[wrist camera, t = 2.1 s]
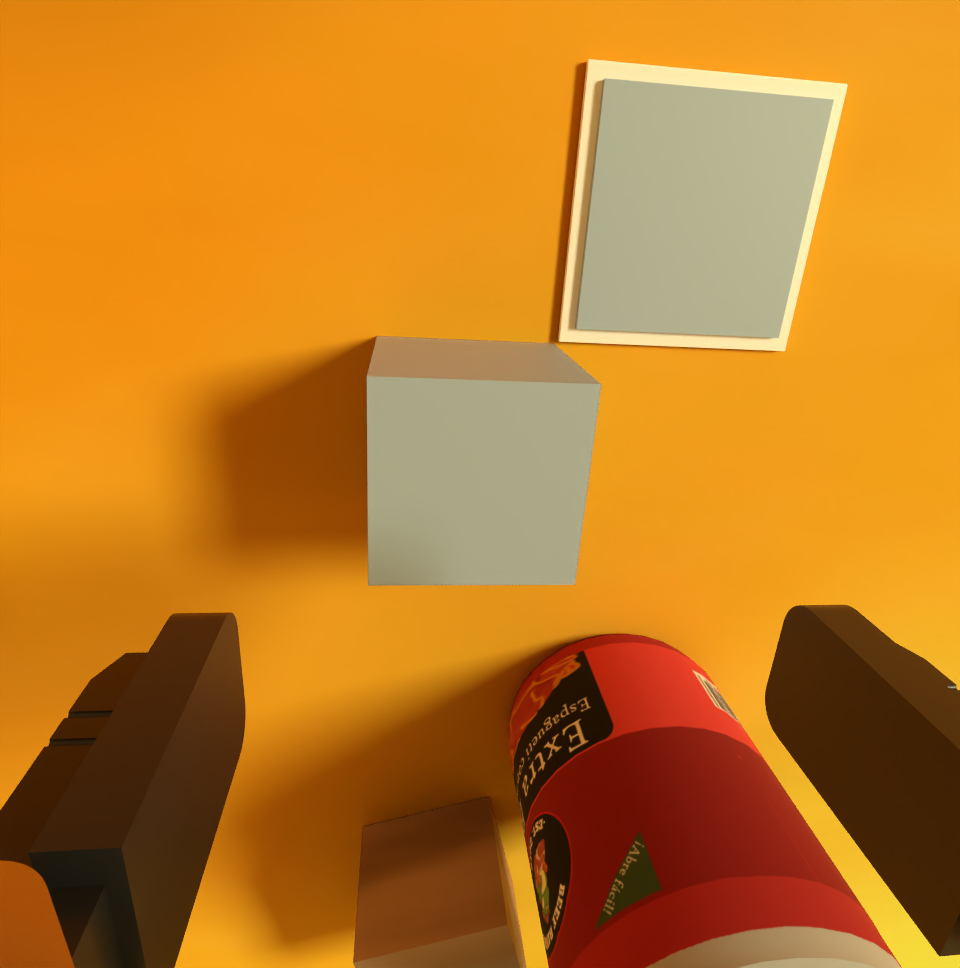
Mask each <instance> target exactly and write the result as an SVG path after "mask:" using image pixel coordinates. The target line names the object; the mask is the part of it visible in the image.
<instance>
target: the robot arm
mask: <svg viewBox="0 0 960 968" xmlns="http://www.w3.org/2000/svg"><path fill="white" fill-rule="evenodd" d="M765 705H766V711H767V716H768V719H769V722H770V725H771V727H772V729H773V731H774V732H775V734H776V735H777V737H778V738H779V740H780V741H781V742H782V744H783V745H784V746H785V748H786V749H787V750H788V752H789V753H790V754H791V756H792V757H793V759H794V760H795V761H796V763H797V764H798V765H799V767H800V768H801V769H802V771H803V772H804V773H805V775H806V776H807V778H808V779H809V780H810V782H811V783H812V784H813V786H814V787H815V788H816V790H817V791H818V792H819V794H820V795H821V797H822V798H823V799H824V801H825V802H826V803H827V805H828V806H829V807H830V809H831V810H832V811H833V813H834V814H835V815H836V817H837V818H838V820H839V821H840V822H841V824H842V825H843V826H844V828H845V829H846V830H847V832H848V833H849V834H850V836H851V837H852V839H853V840H854V841H855V843H856V844H857V845H858V847H859V848H860V849H861V851H862V852H863V853H864V855H865V856H866V858H867V859H868V860H869V862H870V863H871V864H872V866H873V867H874V868H875V870H876V871H877V872H878V874H879V875H880V877H881V878H882V879H883V881H884V882H885V883H886V885H887V886H888V887H889V889H890V890H891V891H892V893H893V894H894V895H895V897H896V898H897V900H898V901H899V902H900V904H901V905H902V906H903V908H904V909H905V910H906V912H907V913H908V914H909V916H910V917H911V919H912V920H913V921H914V923H915V924H916V925H917V927H918V928H919V929H920V931H921V932H922V933H923V935H924V936H925V938H926V939H927V940H928V942H929V943H930V944H931V946H932V947H933V948H934V950H935V951H936V952H937V954H938V955H939V956H949V955H960V690H957V688H956V684H955V683H953V682H952V681H951V680H950V679H948V678H947V677H946V676H945V675H944V674H942V673H941V672H940V671H939V670H938V669H936V668H935V667H934V666H933V665H932V664H930V663H929V662H928V661H927V660H925V659H924V658H922V657H920V656H918V655H916V654H915V653H913V652H911V651H909V650H907V649H906V648H904V647H902V646H900V645H898V644H896V643H895V642H894V641H892V640H891V639H890V638H889V637H888V636H886V635H885V634H884V633H883V632H882V631H880V630H879V629H878V628H877V627H876V626H875V625H873V624H872V623H871V622H870V621H869V620H867V619H866V618H865V617H864V616H863V615H861V614H860V613H859V612H858V611H857V610H855V609H854V608H852V607H850V606H848V605H801V606H795V607H793V608H791V609H790V610H789V612H788V613H787V615H786V617H785V619H784V623H783V626H782V630H781V634H780V638H779V642H778V645H777V649H776V653H775V657H774V660H773V664H772V668H771V672H770V676H769V679H768V683H767V687H766V692H765ZM244 729H245V698H244V687H243V677H242V667H241V657H240V647H239V636H238V627H237V622H236V618H235V616H234V614H233V613H176V614H172V615H171V616H170V617H169V619H168V620H167V622H166V624H165V625H164V627H163V629H162V630H161V632H160V634H159V635H158V637H157V639H156V640H155V642H154V644H153V645H152V647H151V649H150V650H149V652H148V653H126V654H124V655H123V656H122V657H120V658H119V659H118V660H116V661H115V662H114V663H112V664H111V665H110V666H108V667H107V668H106V669H104V670H103V671H102V672H100V673H99V674H98V675H96V676H95V677H94V678H92V679H91V680H90V682H89V683H88V684H87V686H86V687H85V689H84V690H83V692H82V693H81V695H80V696H79V697H78V699H77V700H76V702H75V703H74V705H73V706H72V708H71V709H70V711H69V716H68V718H64V719H63V721H62V722H61V724H60V725H59V726H58V728H57V729H56V731H55V732H54V734H53V735H52V737H51V738H50V743H49V746H48V747H44V748H43V750H42V751H41V753H40V754H39V755H38V757H37V758H36V760H35V761H34V763H33V764H32V766H31V767H30V768H29V770H28V771H27V773H26V774H25V776H24V777H23V779H22V780H21V781H20V783H19V784H18V786H17V787H16V789H15V790H14V792H13V793H12V794H11V796H10V797H9V799H8V800H7V802H6V803H5V805H4V806H3V808H2V809H1V810H0V968H174V967H175V964H176V960H177V957H178V954H179V951H180V948H181V944H182V941H183V938H184V935H185V931H186V928H187V925H188V922H189V918H190V915H191V912H192V909H193V905H194V902H195V899H196V896H197V892H198V889H199V886H200V883H201V879H202V876H203V873H204V870H205V867H206V863H207V860H208V857H209V854H210V850H211V847H212V844H213V841H214V837H215V834H216V831H217V828H218V824H219V821H220V818H221V815H222V811H223V808H224V805H225V802H226V798H227V795H228V792H229V789H230V786H231V782H232V779H233V776H234V773H235V769H236V766H237V763H238V760H239V756H240V753H241V749H242V744H243V738H244Z"/></svg>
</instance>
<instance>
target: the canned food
mask: <svg viewBox="0 0 960 968" xmlns="http://www.w3.org/2000/svg"><path fill="white" fill-rule="evenodd" d="M508 749H509V755H510V760H511V765H512V771H513V776H514V782H515V787H516V792H517V798H518V803H519V809H520V814H521V819H522V825H523V830H524V836H525V841H526V846H527V852H528V857H529V863H530V868H531V874H532V879H533V884H534V890H535V895H536V901H537V906H538V911H539V917H540V922H541V928H542V933H543V938H544V944H545V949H546V955H547V960H548V965H549V968H902V967H901V966H900V964H899V963H898V961H897V960H896V958H895V957H894V955H893V954H892V952H891V951H890V949H889V948H888V946H887V945H886V943H885V941H884V940H883V938H882V937H881V935H880V934H879V932H878V930H877V928H876V927H875V925H874V923H873V922H872V920H871V919H870V917H869V916H868V914H867V913H866V911H865V910H864V908H863V907H862V905H861V904H860V902H859V901H858V899H857V898H856V896H855V895H854V893H853V892H852V890H851V889H850V887H849V886H848V884H847V883H846V881H845V880H844V878H843V877H842V875H841V874H840V872H839V871H838V869H837V868H836V866H835V865H834V863H833V862H832V860H831V859H830V857H829V856H828V854H827V853H826V851H825V850H824V848H823V847H822V845H821V844H820V842H819V841H818V839H817V838H816V836H815V835H814V833H813V832H812V830H811V829H810V827H809V826H808V824H807V823H806V821H805V820H804V818H803V817H802V815H801V814H800V812H799V811H798V809H797V808H796V806H795V805H794V803H793V802H792V800H791V799H790V797H789V796H788V794H787V793H786V791H785V790H784V788H783V787H782V785H781V784H780V782H779V781H778V779H777V778H776V776H775V775H774V773H773V772H772V770H771V769H770V767H769V766H768V764H767V763H766V761H765V760H764V758H763V757H762V755H761V754H760V752H759V751H758V749H757V748H756V746H755V745H754V743H753V742H752V740H751V739H750V737H749V736H748V734H747V733H746V731H745V730H744V728H743V727H742V725H741V724H740V722H739V721H738V719H737V718H736V716H735V715H734V713H733V712H732V710H731V709H730V707H729V706H728V704H727V703H726V701H725V700H724V698H723V697H722V695H721V694H720V692H719V691H718V689H717V688H716V686H715V685H714V683H713V682H712V680H711V679H710V678H709V676H708V675H707V673H706V672H705V671H704V670H703V669H702V668H701V667H699V666H698V665H697V664H696V663H695V662H694V661H692V660H691V659H690V658H688V657H687V656H686V655H684V654H683V653H682V652H680V651H679V650H677V649H675V648H673V647H672V646H670V645H668V644H666V643H664V642H662V641H659V640H655V639H652V638H649V637H645V636H638V635H629V634H617V635H603V636H599V637H594V638H589V639H585V640H582V641H580V642H577V643H574V644H572V645H569V646H567V647H565V648H563V649H561V650H560V651H558V652H556V653H555V654H553V655H551V656H549V657H548V658H547V659H546V660H544V661H543V662H542V663H541V664H540V665H539V666H537V667H536V668H535V669H534V670H533V671H532V673H531V674H530V675H529V676H528V677H527V679H526V680H525V681H524V682H523V684H522V686H521V688H520V690H519V692H518V694H517V696H516V698H515V700H514V704H513V708H512V713H511V717H510V722H509V727H508Z"/></svg>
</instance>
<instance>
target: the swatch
mask: <svg viewBox="0 0 960 968" xmlns="http://www.w3.org/2000/svg"><path fill="white" fill-rule="evenodd" d="M847 86H848V84H841V83H831V82H820V81H810V80H800V79H789V78H779V77H768V76H758V75H748V74H737V73H727V72H717V71H706V70H696V69H685V68H675V67H665V66H654V65H644V64H634V63H623V62H613V61H602V60H592V59H589V60H587V64H586V73H585V83H584V93H583V102H582V112H581V122H580V131H579V141H578V151H577V160H576V170H575V180H574V189H573V199H572V208H571V218H570V228H569V237H568V247H567V257H566V266H565V276H564V286H563V295H562V305H561V315H560V324H559V334H558V341H559V342H580V343H604V344H628V345H651V346H675V347H698V348H722V349H745V350H769V351H785V348H786V344H787V340H788V335H789V331H790V327H791V323H792V319H793V314H794V310H795V306H796V302H797V297H798V293H799V289H800V285H801V280H802V276H803V272H804V268H805V264H806V259H807V255H808V251H809V247H810V242H811V238H812V234H813V230H814V226H815V221H816V217H817V213H818V209H819V204H820V200H821V196H822V192H823V188H824V183H825V179H826V175H827V171H828V166H829V162H830V158H831V154H832V149H833V145H834V141H835V137H836V133H837V128H838V124H839V120H840V116H841V111H842V107H843V103H844V99H845V95H846V90H847Z"/></svg>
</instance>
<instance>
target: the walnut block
mask: <svg viewBox="0 0 960 968" xmlns="http://www.w3.org/2000/svg"><path fill="white" fill-rule="evenodd" d="M353 963H354V966H355V968H526V962H525V956H524V950H523V944H522V938H521V931H520V925H519V919H518V913H517V907H516V900H515V894H514V888H513V882H512V878H511V874H510V871H509V867H508V863H507V860H506V856H505V852H504V849H503V845H502V842H501V838H500V834H499V831H498V827H497V823H496V820H495V816H494V813H493V809H492V805H491V802H490V798H489V797H485V798H480V799H476V800H472V801H468V802H464V803H460V804H455V805H451V806H447V807H443V808H439V809H435V810H430V811H426V812H422V813H418V814H414V815H409V816H405V817H401V818H397V819H393V820H389V821H384V822H380V823H376V824H372V825H368V826H364V827H363V831H362V845H361V859H360V873H359V888H358V902H357V916H356V930H355V945H354V959H353Z"/></svg>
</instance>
